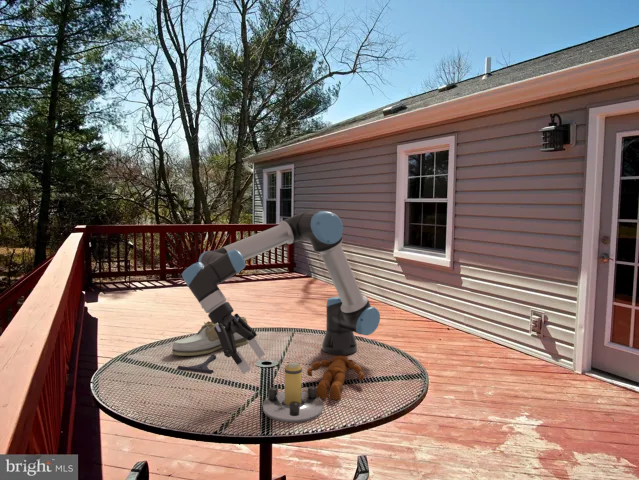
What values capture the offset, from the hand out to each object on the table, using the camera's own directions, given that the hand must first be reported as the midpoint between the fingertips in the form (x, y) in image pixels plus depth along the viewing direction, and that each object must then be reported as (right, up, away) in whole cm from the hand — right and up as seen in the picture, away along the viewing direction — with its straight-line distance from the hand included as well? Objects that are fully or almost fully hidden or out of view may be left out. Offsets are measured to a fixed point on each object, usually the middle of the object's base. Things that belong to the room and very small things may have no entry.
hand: (255, 363), depth 134 cm
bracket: (-24, -10, +31) cm, 41 cm away
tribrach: (+12, -12, -5) cm, 18 cm away
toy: (+26, -12, +16) cm, 32 cm away
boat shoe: (-26, -9, +51) cm, 58 cm away
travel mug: (+12, -10, -5) cm, 17 cm away
